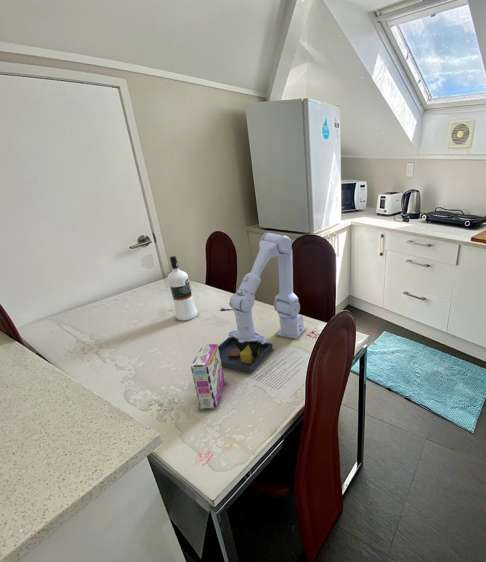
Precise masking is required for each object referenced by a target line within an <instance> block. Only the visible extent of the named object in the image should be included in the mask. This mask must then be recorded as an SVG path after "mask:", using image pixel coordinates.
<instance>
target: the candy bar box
mask: <svg viewBox="0 0 486 562" xmlns="http://www.w3.org/2000/svg"><path fill="white" fill-rule="evenodd" d="M218 346H219V344H218V343H213V344H212V343H211V344H210V343H209V344H202V346H201V348H200V349H199V351H198V353H197V354H196V357H195V358H194V359H193V362H192V363H191V365H190V369H191V374H192V379H193V382H194V387H195V391H196V395H197V399H198V404H199V408H200V409H199V410H213V409H214V410H215V409H217V407H218V404H219V401H220V399H221V395H222V392H223V390H224V387H225V385H226V380H225V376H224V370H223V367H222V365H221V359H220V354H219V348H218Z"/></svg>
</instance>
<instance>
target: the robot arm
mask: <svg viewBox="0 0 486 562" xmlns="http://www.w3.org/2000/svg"><path fill="white" fill-rule="evenodd" d="M258 245H259V250H258V252H257V255H256V258H255V260H254V263H253V265H252V268H251V270H250V272H248V273H245V275H244V276H243V278H242V281H241V283H240V285H239V287H238V288H237V291H236V292H235V293H233V294H232V295H231V297H230V299H229V302H228V304H229V305H228V306H229V307H230V308H231V309H232V310H233V312H234V317H235V323H236V328H237V330H230V331H229V332H228V337H230V338H232V337H235V338H236V339H235V341H234V344H235V345H236V346H237V347H238V348H239V350H240V351H241V352H242V351H243V350H244V349H245V348H246V347H247V341H252V342H251V343H250V344H249V345H248V346H249V347H250V349H251V352H252V356H253V358H256V357H257V356H258V349H259V346H260V343H261V344H264V343H265V342H266V343H267V338H266V336H265V335H264V336H263V335H261V334H260V333H258V332H255V331H256V330H255V325H254V318H253V312H252V309H253V307H255V306H254V305H255V297H256V295H255V294H256V292H257V290H258V288H259V286H260V284H261V282H262V281H261V280H262V279H261V275H262V273H263V271H264V269H265V268H266V266H267V265H268V263H269V261H270V259H272V258H274V257H278V258H277V260H278V286H279V287H278V288H279V290H278V293H277V294H276V295H275V296H274V298H275V299H274V303H273V308H274V310H275V312H277V315H278V318H279V319H278V320H279V327H280V330H279V331H278V333H276V335H277V336H281V337H287V338H292V339H298V338H299V337H300V336H301V335H302V334H303V332H304V331H305V326H304V317H303V315H301V314H299V313H300V310H301V304H300V301H299V297H298V296H297V295H296V293H294V278H293V277H294V275H293V273H294V269H293V268H294V267H293V249H292V248H293V246H292V239H291V238H290V237H289V236H288V235H283V234H277V233H272V232H265V233H264V234H262V236H261V239H260V240H259V243H258Z"/></svg>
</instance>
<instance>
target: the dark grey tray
mask: <svg viewBox="0 0 486 562" xmlns="http://www.w3.org/2000/svg"><path fill="white" fill-rule="evenodd" d="M235 339H236V338H235V337H232V338H230V337H229V336H228V337H227V338H226V339H225V340H224V341H222V342H221V343H220V344H218V348H219V354H220V359H221V365H222V368H223V369H224V368H225V369H229V370H233V371H237V372H242V373H245V374H250V375H251V374H252V373H253V372H254V371H255V370H256V369H257V367H258V366H259V365H260V364H261V363H262V362H263V361H264V360H265V359H266V358H267V356H268V355H269V354H270V353H271V352H272V351H273V343H271V342H267V341H266V342H265V343H264V344H261V343H260V346H259V355H258V357H257V358H256V359H255V360H254V361H253V362H252V363H251V364H249V363H245V362H241V356H240V358H229V356H228V355H229V354H230V352H231V351H232V349H239V348H238V347H237V346H236V345H235V344H234V341H235ZM251 342H252V341H247V346H248V345H249V344H250V343H251Z"/></svg>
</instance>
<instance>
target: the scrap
mask: <svg viewBox="0 0 486 562" xmlns="http://www.w3.org/2000/svg"><path fill="white" fill-rule="evenodd" d="M240 353H241V351H240V350H239V349H232V351H231V352H230V354H229V355H228V356H229V358H240Z"/></svg>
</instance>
